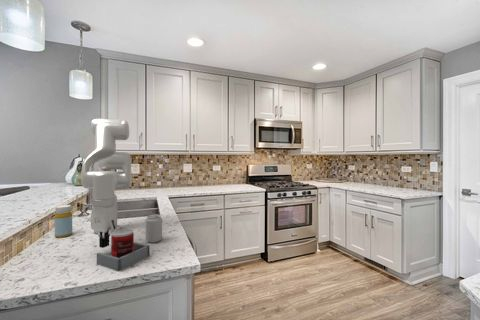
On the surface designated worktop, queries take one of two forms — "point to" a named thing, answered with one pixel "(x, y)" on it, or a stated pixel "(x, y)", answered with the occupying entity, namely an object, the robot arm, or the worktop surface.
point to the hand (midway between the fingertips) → (104, 246)
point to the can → (153, 228)
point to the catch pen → (124, 257)
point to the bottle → (63, 221)
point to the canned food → (122, 242)
